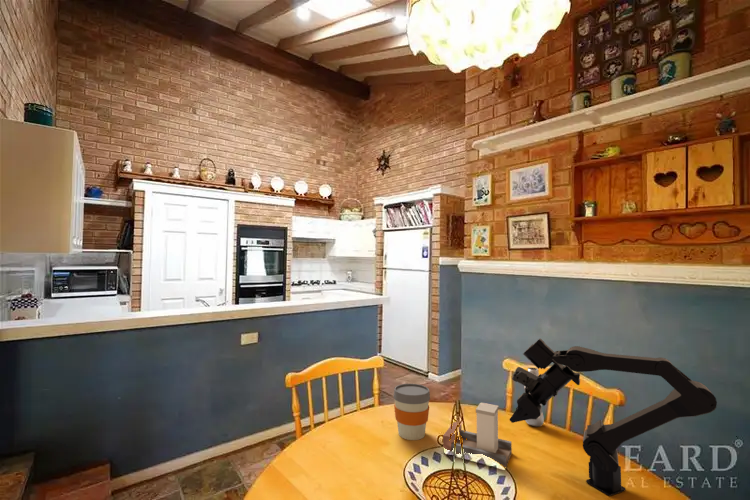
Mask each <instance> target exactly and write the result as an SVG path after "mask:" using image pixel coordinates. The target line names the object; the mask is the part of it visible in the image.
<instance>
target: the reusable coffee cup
mask: <svg viewBox="0 0 750 500" xmlns="http://www.w3.org/2000/svg"><path fill="white" fill-rule="evenodd" d="M430 393H431V391H430V389H429V387H427V386H425V385H423V384H418V383H402V384H398V385H396V386H395V387H394V389H393V399H394V405H393V406H394V408H393V409H394V415H395V420H396V423H397V431H398V432H397V433H398V435H399V437H400V438H402V439H405V440H408V441H418V440H422V439H424V437H425V435H426V428H427V427H426V426H427V422H428V420H429V414H430V405H429V404H430V400H431V394H430Z"/></svg>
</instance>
